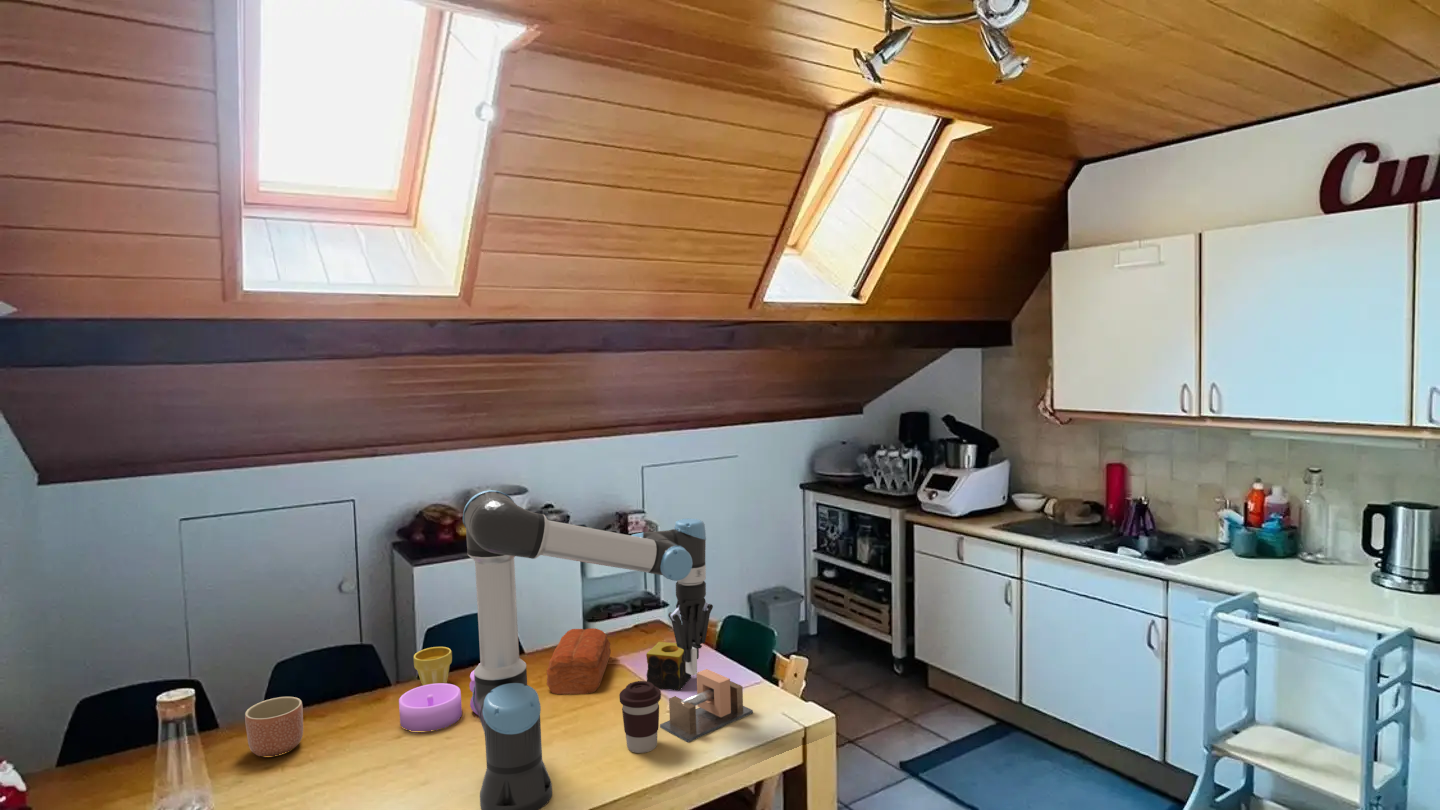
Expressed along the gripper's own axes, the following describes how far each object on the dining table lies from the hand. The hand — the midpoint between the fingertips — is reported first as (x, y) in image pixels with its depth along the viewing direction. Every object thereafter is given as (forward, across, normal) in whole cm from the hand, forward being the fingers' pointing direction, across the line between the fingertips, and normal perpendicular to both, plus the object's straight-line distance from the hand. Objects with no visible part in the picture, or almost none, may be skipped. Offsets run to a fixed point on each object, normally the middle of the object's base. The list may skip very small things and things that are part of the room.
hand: (691, 673), depth 209 cm
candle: (+14, +12, +25) cm, 31 cm away
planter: (+17, -80, +63) cm, 103 cm away
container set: (+16, -41, +50) cm, 67 cm away
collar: (+12, +7, 0) cm, 14 cm away
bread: (+15, -2, +48) cm, 50 cm away
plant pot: (+16, -36, +72) cm, 82 cm away
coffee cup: (+14, -15, +1) cm, 21 cm away
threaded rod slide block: (+14, +5, 0) cm, 15 cm away
